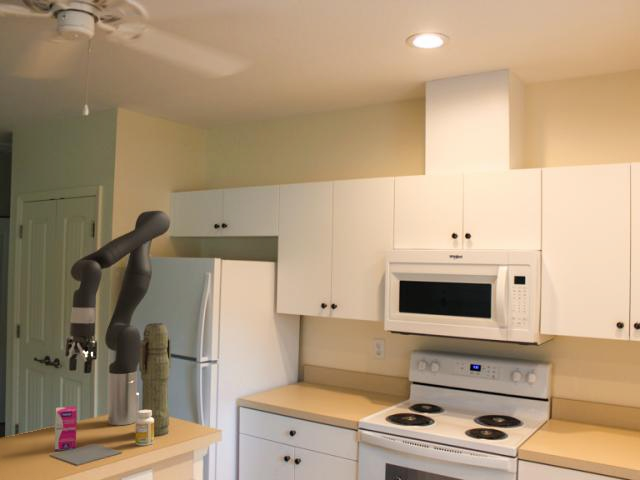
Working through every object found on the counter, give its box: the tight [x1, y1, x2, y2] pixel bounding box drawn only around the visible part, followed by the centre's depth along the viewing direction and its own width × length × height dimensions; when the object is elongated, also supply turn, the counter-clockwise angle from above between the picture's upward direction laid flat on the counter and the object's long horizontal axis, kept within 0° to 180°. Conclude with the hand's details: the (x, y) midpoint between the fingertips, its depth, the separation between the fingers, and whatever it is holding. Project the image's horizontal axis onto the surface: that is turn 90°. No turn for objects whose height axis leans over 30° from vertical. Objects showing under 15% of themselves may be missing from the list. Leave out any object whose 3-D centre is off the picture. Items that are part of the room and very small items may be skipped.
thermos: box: [138, 322, 172, 438], centre depth 200 cm, size 9×12×35 cm
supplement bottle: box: [135, 409, 155, 447], centre depth 189 cm, size 5×5×10 cm
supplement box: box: [54, 405, 78, 452], centre depth 184 cm, size 6×6×12 cm
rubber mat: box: [49, 443, 123, 466], centre depth 177 cm, size 14×14×1 cm
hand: (79, 371), depth 202 cm, fingers open, 8 cm apart
